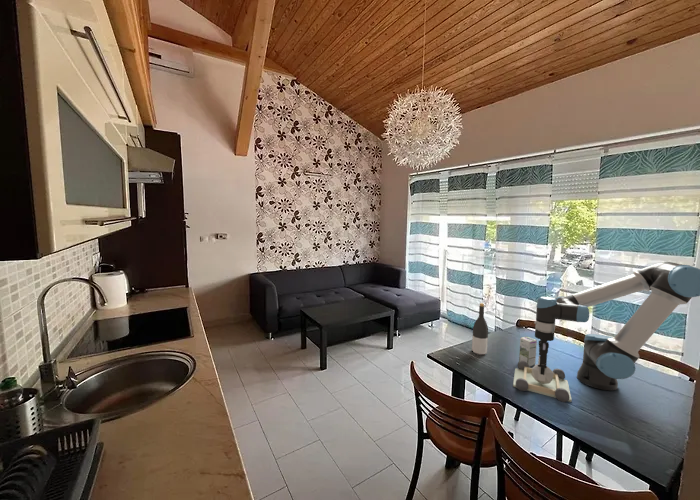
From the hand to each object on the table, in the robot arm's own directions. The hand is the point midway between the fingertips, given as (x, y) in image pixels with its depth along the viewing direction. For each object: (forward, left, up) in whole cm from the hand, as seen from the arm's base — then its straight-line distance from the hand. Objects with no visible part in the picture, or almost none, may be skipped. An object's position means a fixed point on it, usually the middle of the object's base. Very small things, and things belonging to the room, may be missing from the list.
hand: (541, 374), depth 141 cm
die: (0, +2, -4) cm, 4 cm away
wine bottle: (+30, -20, -5) cm, 36 cm away
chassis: (0, 0, -5) cm, 5 cm away
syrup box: (+6, -20, -5) cm, 21 cm away
